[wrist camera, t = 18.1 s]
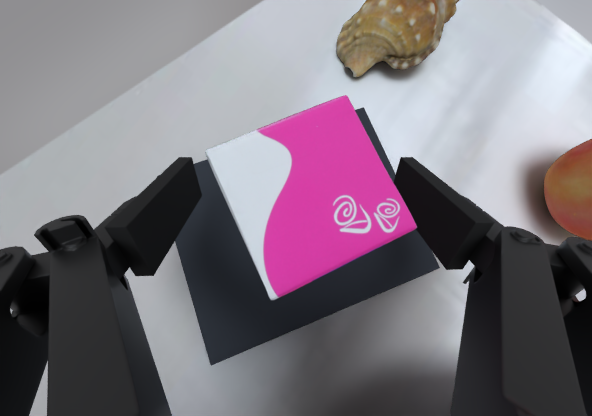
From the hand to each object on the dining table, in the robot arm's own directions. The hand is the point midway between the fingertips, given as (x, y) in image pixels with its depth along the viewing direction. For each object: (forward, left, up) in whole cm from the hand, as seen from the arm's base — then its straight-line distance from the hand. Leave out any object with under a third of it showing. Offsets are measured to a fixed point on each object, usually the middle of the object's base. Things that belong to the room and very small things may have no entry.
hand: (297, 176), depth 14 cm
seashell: (-12, +15, -6) cm, 20 cm away
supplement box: (+2, -1, -5) cm, 6 cm away
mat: (+2, -1, -6) cm, 6 cm away
